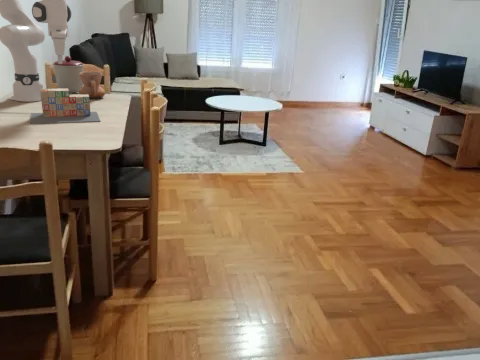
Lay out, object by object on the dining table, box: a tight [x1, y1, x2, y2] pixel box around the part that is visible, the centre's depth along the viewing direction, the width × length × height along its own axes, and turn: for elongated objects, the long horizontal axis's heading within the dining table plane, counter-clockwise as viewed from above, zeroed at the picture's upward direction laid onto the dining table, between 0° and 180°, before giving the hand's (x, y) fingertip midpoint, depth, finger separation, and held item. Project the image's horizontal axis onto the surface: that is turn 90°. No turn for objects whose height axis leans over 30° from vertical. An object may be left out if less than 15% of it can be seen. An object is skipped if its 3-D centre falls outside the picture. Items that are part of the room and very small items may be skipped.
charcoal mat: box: [29, 111, 101, 125], centre depth 216 cm, size 20×30×1 cm, turn 111°
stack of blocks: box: [40, 88, 91, 117], centre depth 218 cm, size 21×6×12 cm, turn 111°
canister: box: [51, 55, 85, 94], centre depth 273 cm, size 18×18×21 cm
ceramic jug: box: [78, 70, 106, 100], centre depth 261 cm, size 18×14×14 cm
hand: (60, 62), depth 219 cm, fingers open, 8 cm apart
